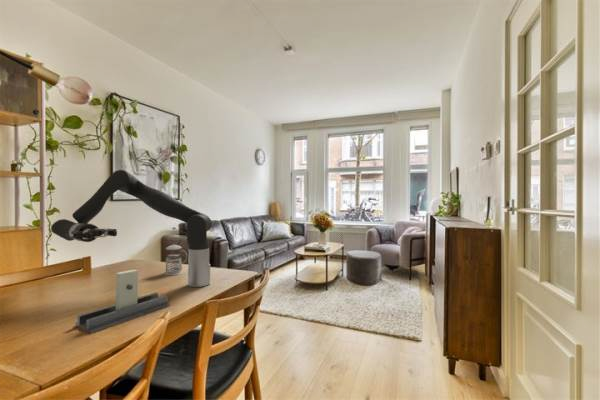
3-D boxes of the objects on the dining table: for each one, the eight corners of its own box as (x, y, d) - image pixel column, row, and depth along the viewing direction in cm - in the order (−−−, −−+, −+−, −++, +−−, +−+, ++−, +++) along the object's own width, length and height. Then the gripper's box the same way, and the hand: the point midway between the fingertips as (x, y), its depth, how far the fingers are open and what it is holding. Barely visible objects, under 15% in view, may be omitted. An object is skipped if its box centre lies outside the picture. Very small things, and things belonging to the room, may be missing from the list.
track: (153, 300, 111) (154, 291, 111) (169, 305, 106) (169, 296, 106) (75, 325, 88) (75, 314, 88) (90, 333, 83) (90, 322, 83)
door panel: (133, 308, 100) (134, 269, 100) (138, 310, 99) (139, 270, 99) (115, 314, 95) (116, 273, 95) (120, 316, 93) (121, 274, 93)
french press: (164, 271, 155) (165, 226, 155) (187, 269, 159) (187, 226, 159) (162, 276, 146) (163, 228, 146) (186, 274, 150) (187, 227, 150)
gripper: (63, 224, 111) (82, 226, 103) (102, 222, 123) (122, 223, 115) (63, 243, 111) (82, 247, 103) (102, 239, 123) (122, 241, 115)
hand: (103, 234), depth 109 cm, fingers open, 8 cm apart
